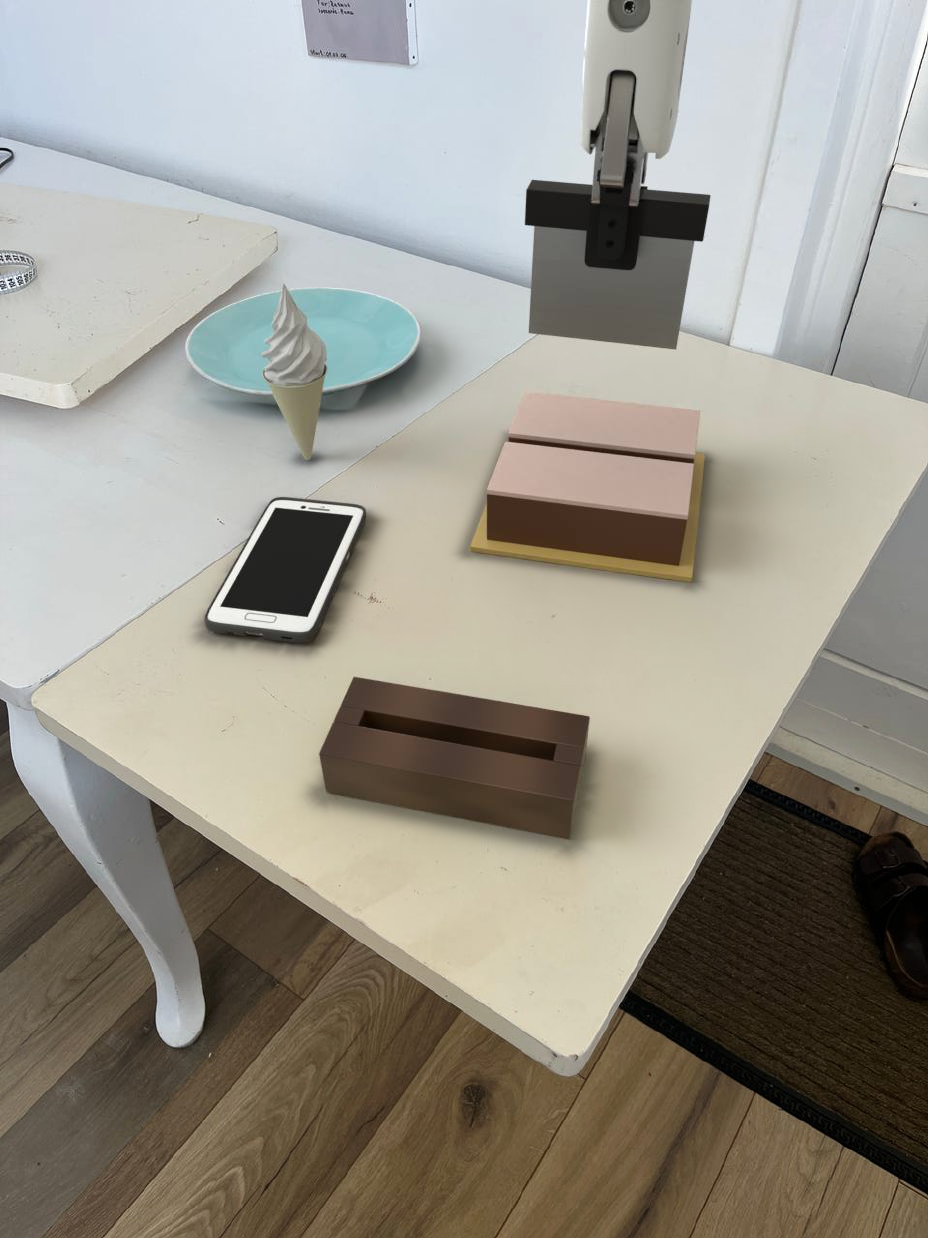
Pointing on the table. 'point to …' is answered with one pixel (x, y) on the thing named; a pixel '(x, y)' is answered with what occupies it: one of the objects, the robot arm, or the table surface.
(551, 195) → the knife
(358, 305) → the plate
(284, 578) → the cell phone
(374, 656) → the table surface
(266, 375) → the ice cream cone
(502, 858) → the table surface
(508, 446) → the cake
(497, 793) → the brown slotted box
